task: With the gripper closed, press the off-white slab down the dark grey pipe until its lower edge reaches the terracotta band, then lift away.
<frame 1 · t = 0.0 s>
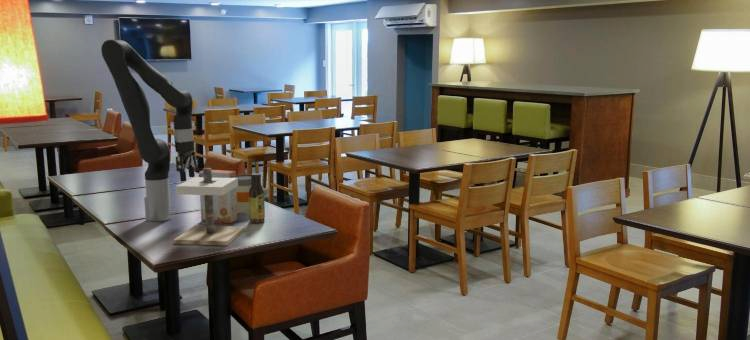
hand: (187, 179, 257), 17 cm above the table, tool pointing down, fingers open, 8 cm apart
cracker box: (219, 221, 258), on the table
pipe stand: (210, 236, 235), on the table
off-white slab: (208, 185, 232), point 20 cm above the table, slide at 18.0 cm
reusable coffee cup: (245, 210, 275), on the table
sauce bottle: (257, 222, 257), on the table
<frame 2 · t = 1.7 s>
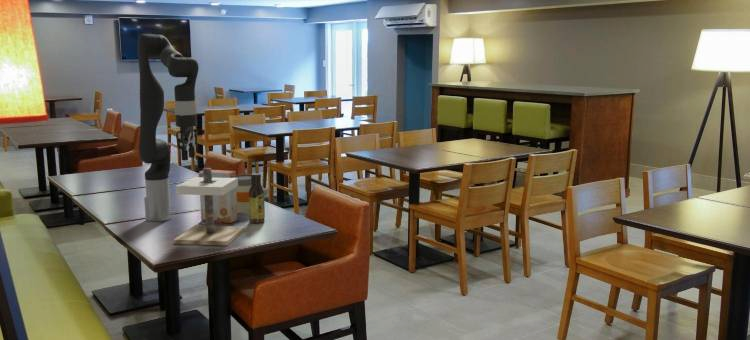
hand: (188, 158, 231), 30 cm above the table, tool pointing down, fingers open, 5 cm apart
nothing on the table moved.
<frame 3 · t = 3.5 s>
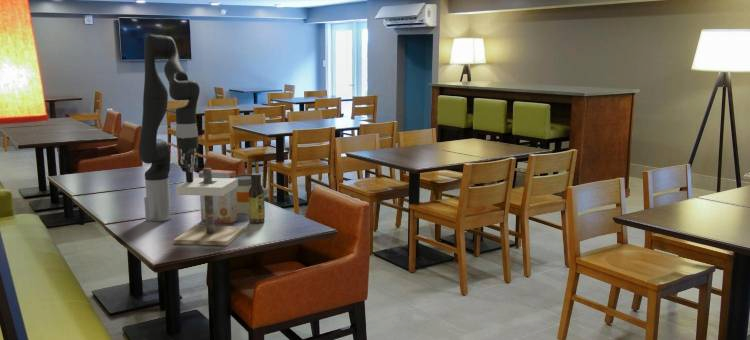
hand: (189, 181, 232), 21 cm above the table, tool pointing down, fingers closed
off-white slab: (208, 186, 232), point 19 cm above the table, slide at 17.8 cm, touching gripper
everything else where it was.
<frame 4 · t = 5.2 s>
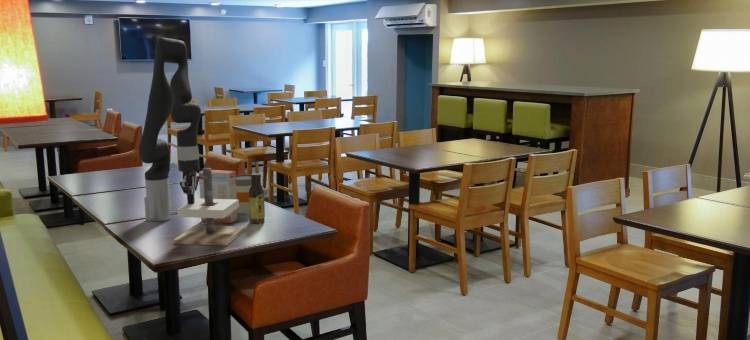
hand: (191, 203, 234), 13 cm above the table, tool pointing down, fingers closed
off-white slab: (209, 208, 233), point 11 cm above the table, slide at 9.6 cm, touching gripper
everything else where it was.
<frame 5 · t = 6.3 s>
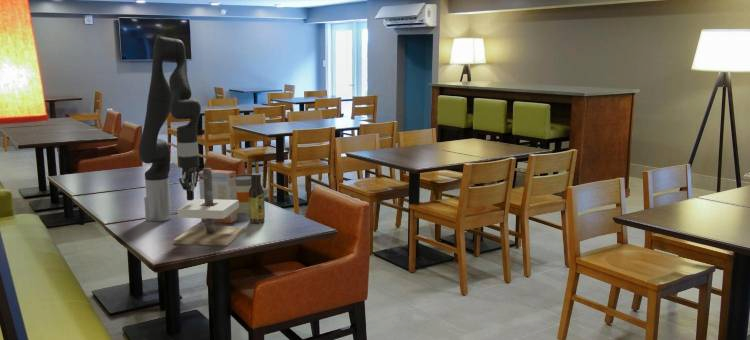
hand: (190, 199, 234), 14 cm above the table, tool pointing down, fingers closed
off-white slab: (209, 208, 233), point 11 cm above the table, slide at 9.4 cm
everything else where it was.
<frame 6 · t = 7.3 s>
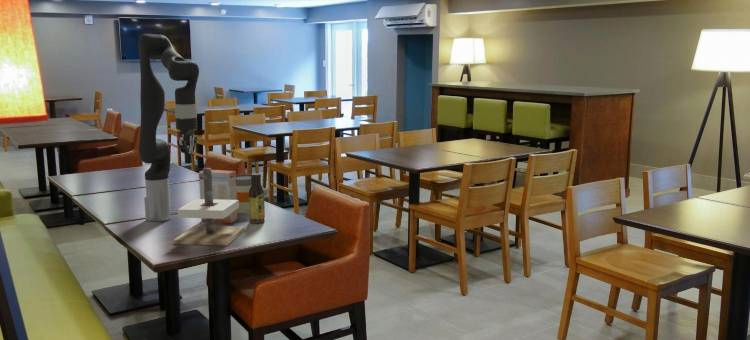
hand: (188, 163, 231), 28 cm above the table, tool pointing down, fingers closed
nothing on the table moved.
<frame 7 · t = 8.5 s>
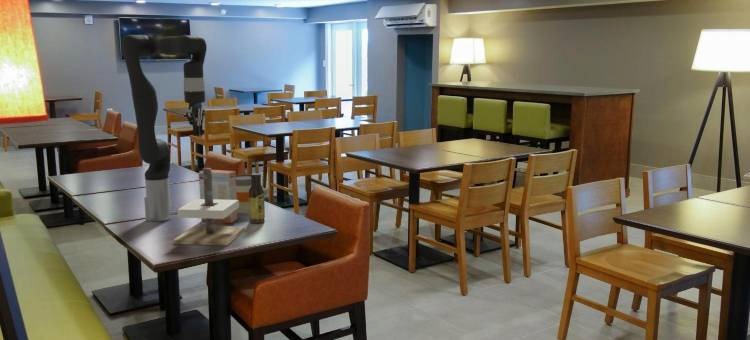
hand: (196, 135, 238), 37 cm above the table, tool pointing down, fingers closed
nothing on the table moved.
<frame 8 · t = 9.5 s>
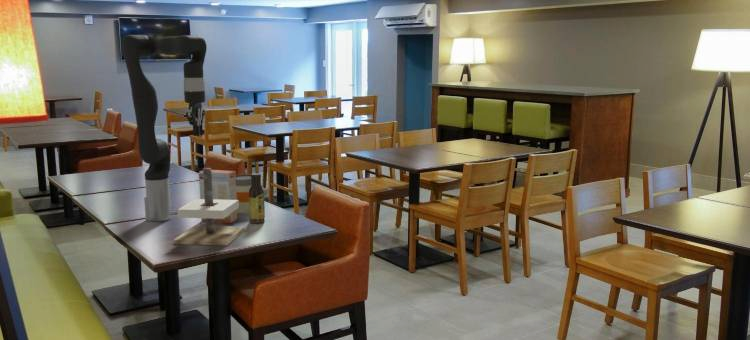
hand: (196, 135, 238), 37 cm above the table, tool pointing down, fingers closed
nothing on the table moved.
at the end: off-white slab slide at 9.4 cm; off-white slab moved 9.4 cm from its start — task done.
